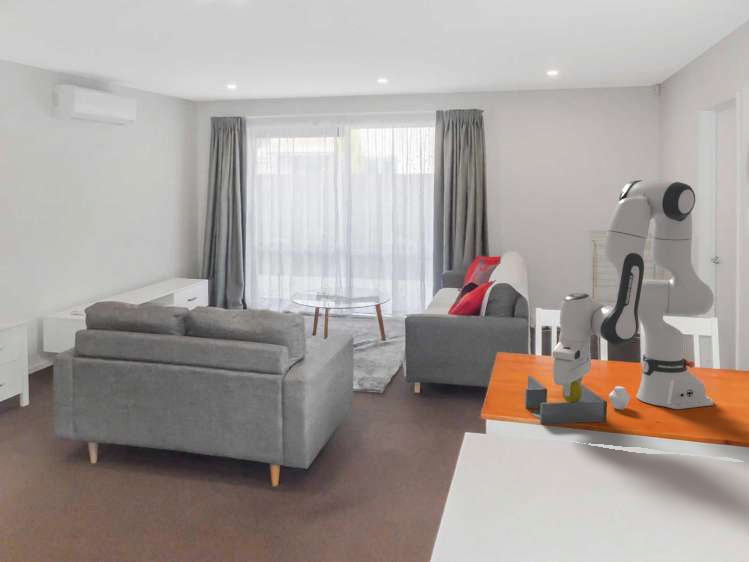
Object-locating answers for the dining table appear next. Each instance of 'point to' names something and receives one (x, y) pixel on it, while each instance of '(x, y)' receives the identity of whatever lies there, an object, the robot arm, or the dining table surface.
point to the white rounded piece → (619, 397)
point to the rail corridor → (564, 406)
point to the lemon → (574, 392)
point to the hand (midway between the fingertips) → (572, 392)
